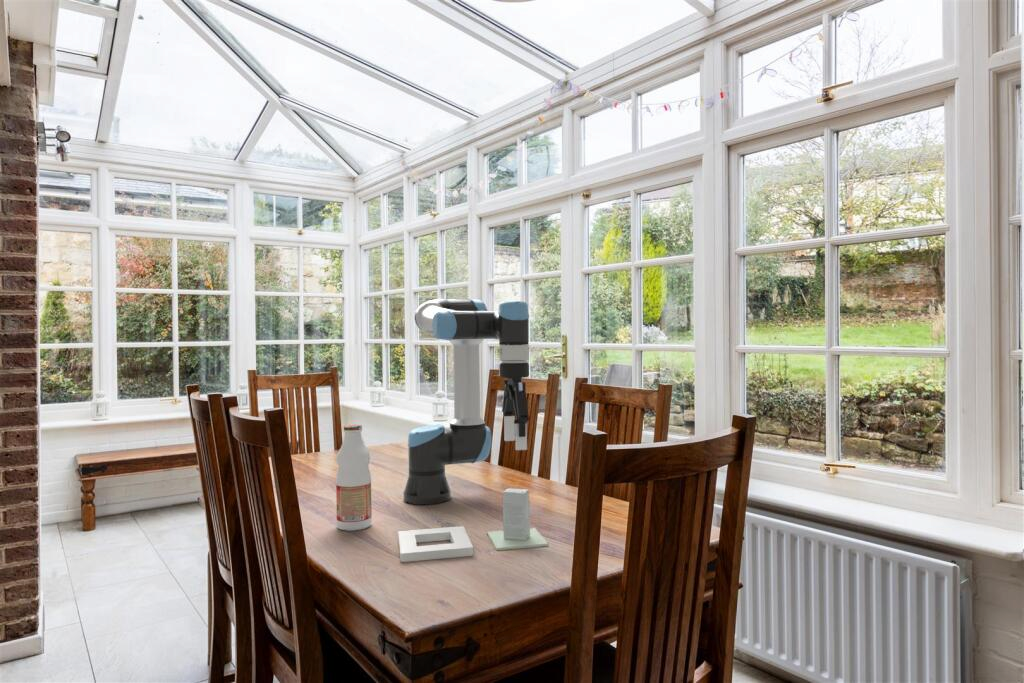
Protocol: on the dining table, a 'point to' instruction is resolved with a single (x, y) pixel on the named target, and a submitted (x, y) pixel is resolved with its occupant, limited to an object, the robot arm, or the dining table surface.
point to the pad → (506, 544)
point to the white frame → (416, 553)
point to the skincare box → (516, 514)
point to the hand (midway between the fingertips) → (515, 445)
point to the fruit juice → (353, 482)
